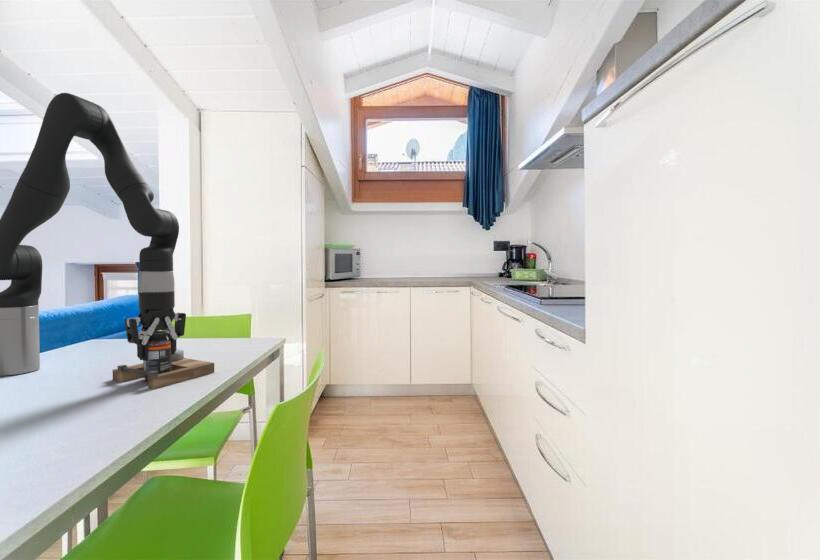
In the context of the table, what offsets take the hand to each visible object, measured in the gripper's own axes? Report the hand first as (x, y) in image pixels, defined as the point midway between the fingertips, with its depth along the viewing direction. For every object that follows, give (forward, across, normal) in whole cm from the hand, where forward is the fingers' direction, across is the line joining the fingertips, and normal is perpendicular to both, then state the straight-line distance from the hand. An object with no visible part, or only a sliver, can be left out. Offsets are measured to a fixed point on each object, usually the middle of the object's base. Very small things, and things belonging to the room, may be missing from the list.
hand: (157, 356), depth 99 cm
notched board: (+6, -2, -1) cm, 6 cm away
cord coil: (+3, -8, -6) cm, 10 cm away
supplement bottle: (+5, 0, 0) cm, 5 cm away
